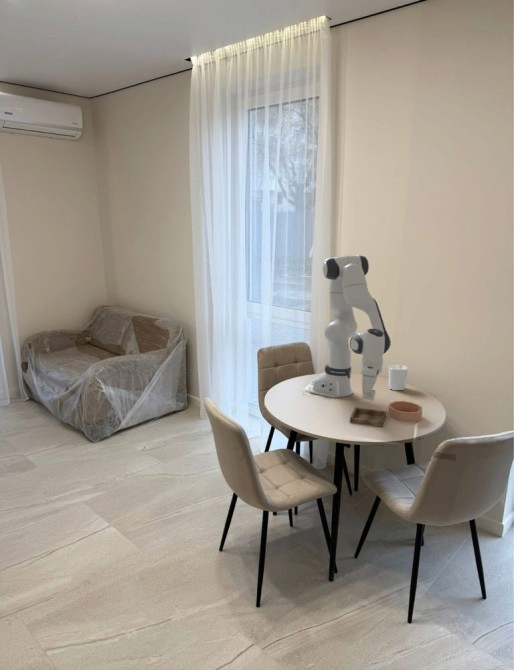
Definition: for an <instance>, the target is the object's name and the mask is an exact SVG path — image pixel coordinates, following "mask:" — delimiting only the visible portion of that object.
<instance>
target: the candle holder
mask: <svg viewBox="0 0 514 670" xmlns="http://www.w3.org/2000/svg"><path fill="white" fill-rule="evenodd" d="M407 374H408V366H405V365H403V364H390V365H388V389H389V388H390V389H392V390H391V391H393V390H403V391H405V389H406V382H407ZM390 389H389V390H390Z"/></svg>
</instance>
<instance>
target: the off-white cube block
mask: <svg viewBox="0 0 514 670" xmlns="http://www.w3.org/2000/svg"><path fill="white" fill-rule="evenodd" d="M361 395H362V396H361V399H362V400H366V401H373V402H374V400H375V398H376V390H375V389H372V391H371V393H370V398H369V399H366V398H365V397H366V393H364V392H363V391H362V394H361Z"/></svg>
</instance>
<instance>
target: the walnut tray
mask: <svg viewBox="0 0 514 670" xmlns="http://www.w3.org/2000/svg"><path fill="white" fill-rule="evenodd" d="M386 417H387V411H385V410H378V409H372V408H364V407H354V409H353V411H352V414H351V415H350V417H349V423H351V424H359V425H364V426H371V427H377V428H383V427H384V424H385V420H386Z"/></svg>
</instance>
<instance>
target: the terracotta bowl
mask: <svg viewBox="0 0 514 670" xmlns="http://www.w3.org/2000/svg"><path fill="white" fill-rule="evenodd" d="M387 410H388V411H387V415H388V416H389V417H390V418H391V419H395V420H397V421H401V422H415V424H418V423H420V422H422V417H423V406H421V405H420V404H419V403H416V402H412V401H407V400H406V401H405V400H400V401H399V400H397V401H396V400H395V401H392V402H389V403H388V409H387Z"/></svg>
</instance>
